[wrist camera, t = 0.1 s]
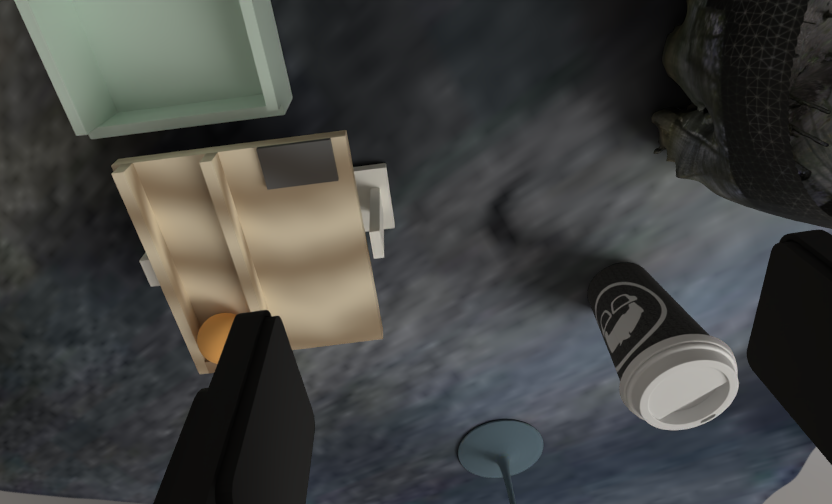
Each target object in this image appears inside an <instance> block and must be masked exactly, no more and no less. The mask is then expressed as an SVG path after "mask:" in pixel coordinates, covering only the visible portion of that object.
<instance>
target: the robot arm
mask: <svg viewBox="0 0 832 504" xmlns="http://www.w3.org/2000/svg"><path fill="white" fill-rule="evenodd" d="M747 359H748V363H749V365H750V367H751V369H752V370H753V371H754V373H755V374H756V375H757V376H758V377H759V379H760V380H761V381H762V382H763V383H764V384H765V386H766V387H767V388H768V389H769V390H770V392H771V393H772V394H773V395H774V396H775V398H776V399H777V400H778V401H779V402H780V404H781V405H782V406H783V407H784V408H785V410H786V411H787V412H788V413H789V414H790V416H791V417H792V418H793V419H794V420H795V422H796V423H797V424H798V425H799V426H800V428H801V429H802V430H803V431H804V432H805V434H806V435H807V436H808V437H809V438H810V440H811V441H812V442H813V443H814V444H815V446H816V447H817V448H818V449H819V450H820V451H821V453H822V454H823V455H824V456H825V457H826V459H827V460H828V461H829V462H830V463H831V464H832V235H831V234H829V233H828V232H826V231H823V230H811V231H804V232H798V233H791V234H787V235H784V236H783V237H782V238H781V240H780V242H779V243H777V244H775V245H774V246H773V248H772V251H771V254H770V258H769V262H768V267H767V271H766V275H765V279H764V283H763V287H762V291H761V295H760V299H759V303H758V307H757V311H756V315H755V320H754V324H753V328H752V332H751V336H750V340H749V344H748V348H747ZM314 433H315V420H314V414H313V410H312V407H311V404H310V401H309V398H308V395H307V393H306V390H305V387H304V384H303V381H302V378H301V375H300V372H299V369H298V366H297V363H296V360H295V357H294V354H293V351H292V348H291V345H290V342H289V339H288V337H287V334H286V331H285V328H284V325H283V322H282V319H281V318H280V316H271V313H270V312H269V311H268V310H260V311H254V312H247V313H240V314H237V315H236V316H235V318H234V320H233V323H232V326H231V329H230V331H229V334H228V337H227V339H226V342H225V345H224V348H223V350H222V353H221V356H220V358H219V361H218V364H217V367H216V369H215V372H214V375H213V377H212V380H211V383H210V386H209V388H204V389H201V390H200V391H199V392H198V393H197V395H196V397H195V398H194V401H193V403H192V406H191V408H190V411H189V413H188V416H187V419H186V421H185V424H184V426H183V429H182V431H181V434H180V437H179V439H178V442H177V444H176V447H175V449H174V452H173V454H172V457H171V460H170V462H169V465H168V467H167V470H166V472H165V475H164V478H163V480H162V483H161V485H160V488H159V490H158V493H157V495H156V498H155V501H154V503H153V504H305V503H306V495H307V488H308V480H309V472H310V464H311V456H312V449H313V441H314Z"/></svg>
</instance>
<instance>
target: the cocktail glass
mask: <svg viewBox="0 0 832 504" xmlns="http://www.w3.org/2000/svg"><path fill="white" fill-rule="evenodd" d="M542 450H543V439H542V437H541V435H540V433H539V432H538V431H537V429H535V428H534V427H533V426H531V425H529V424H527V423H524V422H521V421H517V420H497V421H492V422H488V423H485V424H482V425H480V426H478V427H476V428H475V429H473V430H472V431H470V432H469V433H468V434H467V435H466V436H465V437H464V438H463V440H462V441H461V443H460V445H459V449H458V457H459V460H460V462H461V464H462V465H463V467H464V468H465V469H467V470H468V471H469V472H471V473H473V474H476V475H478V476H482V477H489V478H500V477H503V478H504V482H505V485H506V489H507V493H508V497H509V501H510V504H516V501H515V496H514V492H513V487H512V482H511V475H515V474H517V473H520V472H522V471H524V470H526V469H528V468H529V467H530V466H532V465H533V464H534V463H535V462H536V461H537V460H538V458H539V457H540V455H541V453H542Z"/></svg>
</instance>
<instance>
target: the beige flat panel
mask: <svg viewBox="0 0 832 504" xmlns="http://www.w3.org/2000/svg"><path fill="white" fill-rule="evenodd" d="M111 167H112V169H113V171H114V172H113V173H112V177H113V179H114V181H115V183H116V186H117V188H118V190H119V192H120V195H121V197H122V199H123V202H124V204H125V206H126V208H127V211H128V213H129V215H130V217H131V220H132V222H133V224H134V227H135V229H136V231H137V233H138V236H139V238H140V240H141V242H142V245H143V247H144V249H145V251H146V254H147V256H148V258H149V261H150V263H151V265H152V267H153V270H154V272H155V274H156V276H157V279H158V281H159V283H160V286H161V288H162V290H163V292H164V295H165V297H166V299H167V301H168V304H169V306H170V308H171V311H172V313H173V315H174V317H175V320H176V322H177V324H178V326H179V329H180V331H181V333H182V336H183V338H184V340H185V342H186V345H187V347H188V349H189V351H190V354H191V356H192V358H193V361H194V363H195V365H196V367H197V370H198V372H199V374H206V373H214V372H215V369H216V367H217V364H215V363H212V362H210V361H209V360H207V359H206V358H205V357H204V356H203V355H202V354H201V352H200V350H199V348H198V344H197V336H198V332H199V329H200V327H201V326H202V324H203V323H204V322H205V321H206V320H207V319H208V318H210V317H212V316H214V315H216V314H220V313H232V314H235V315H237V314H240V313H247V312H254V311H260V310H268V311H269V312H270V313H271V316H280V318H281V319H282V322H283V325H284V328H285V331H286V334H287V337H288V339H289V342H290V345H291V348H292V350H297V349H305V348H313V347H321V346H329V345H337V344H345V343H353V342H361V341H370V340H378V339H383V327H382V322H381V316H380V311H379V305H378V300H377V295H376V289H375V284H374V278H373V273H372V267H371V262H370V257H369V251H368V246H367V240H366V235H365V229H364V224H363V219H362V213H361V208H360V202H359V197H358V191H357V186H356V181H355V175H354V170H353V164H352V159H351V154H350V148H349V143H348V137H347V132H346V130H343V131H335V132H327V133H319V134H312V135H304V136H296V137H288V138H280V139H272V140H264V141H256V142H248V143H241V144H233V145H225V146H217V147H209V148H201V149H193V150H185V151H177V152H170V153H162V154H154V155H146V156H138V157H130V158H122V159H118V160H117V161H116V162H114V163H113V164H112V165H111Z"/></svg>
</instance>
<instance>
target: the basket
mask: <svg viewBox="0 0 832 504" xmlns="http://www.w3.org/2000/svg"><path fill="white" fill-rule="evenodd" d="M686 2H687V15H686V18H685V20H684V22H683V24H682V25H678V26H676V27H675V28H674V31H673V32H672V33H670V34H668V36H667V39H666V42H665V46H664V50H663V55H662V63H663V65H664V67H665V70H666V72H667V75H668V76H669V77H671V78H672V79H673V80H674V81H675V82H676V83H677V84H678V85H679V86H680V87H681V88H682V89H683V91H684V92H685V93H686V95H687V96H688V97H689V98H690V100H691V101H692V102H691V105H689V106H687V110H681V109H678V108H677V107H670V108H665V109H662V110H659V111H657V112H655V113H654V114H653V116H652V118H651V119H652V123H654V124H655V125H656V126H657V127H658V129H659V141H658V142H659V144H660V147H659V148H657V149H655V150H654V152H653V153H654V154H658V153H660V152H661V151H662V150H664V149H667V155H668V156H667V158H668V159H667V161H671V162H675V164H676V177H678V178H684V179H691V180H696V181H699V182H701V183H702V184H704V185H705V186H706V187H707V188H708V189H710V190H711V191H712V192H714V193H715V194H717V195H719V196H721V197H723V198H725V199H728V200H730V201H733V202H736V203H738V204H741V205H744V206H746V207H750V208H753V209H756V210H759V211H762V212H766V213H769V214H773V215H776V216H780V217H784V218H787V219H791V220H794V221H799V222H804V223H808V224H813V225H817V226H821V227H825V228H830V229H832V0H686Z"/></svg>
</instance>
